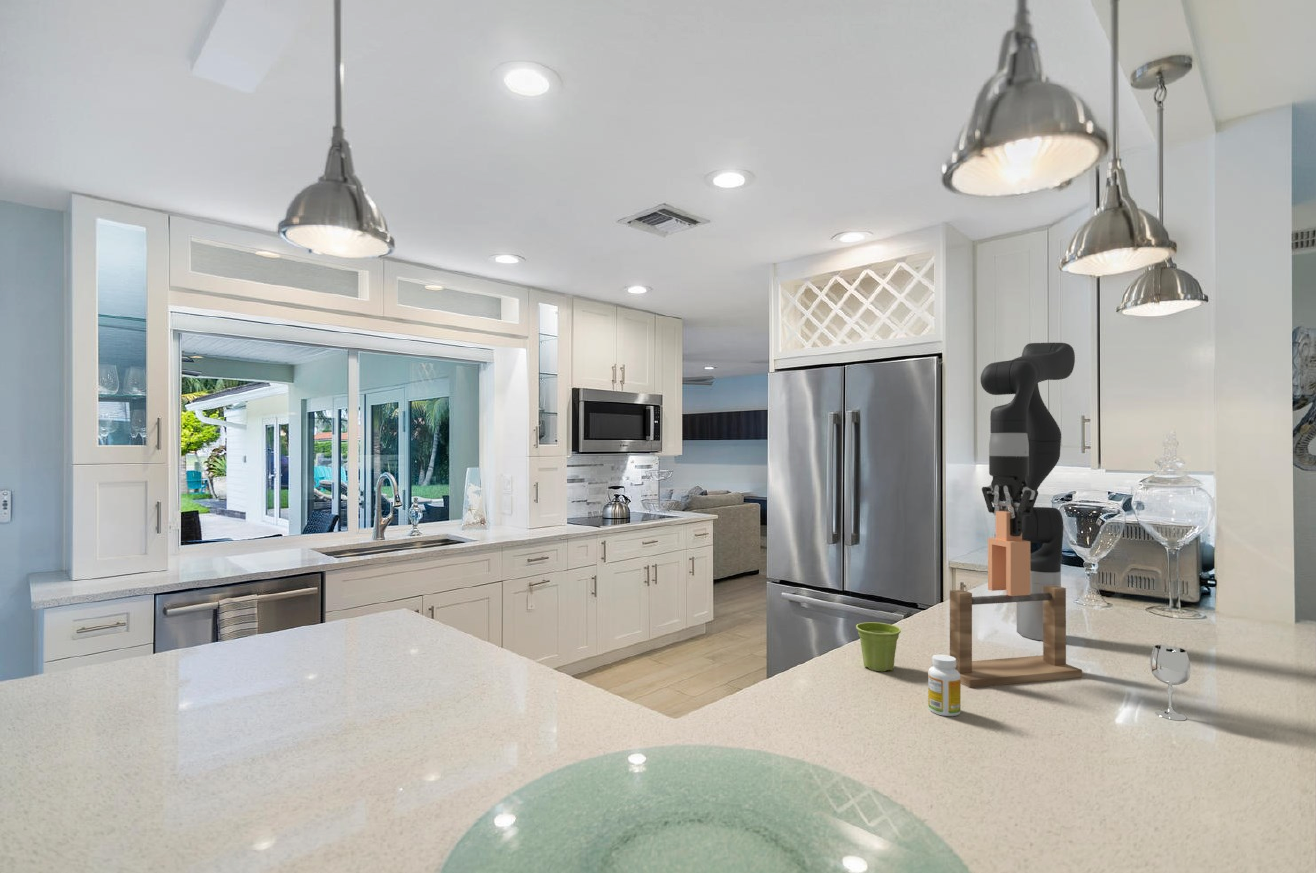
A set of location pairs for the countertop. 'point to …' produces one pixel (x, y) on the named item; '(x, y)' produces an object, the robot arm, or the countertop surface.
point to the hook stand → (1011, 668)
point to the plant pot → (878, 645)
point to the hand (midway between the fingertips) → (1008, 534)
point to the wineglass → (1170, 673)
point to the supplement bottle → (944, 686)
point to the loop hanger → (1008, 559)
